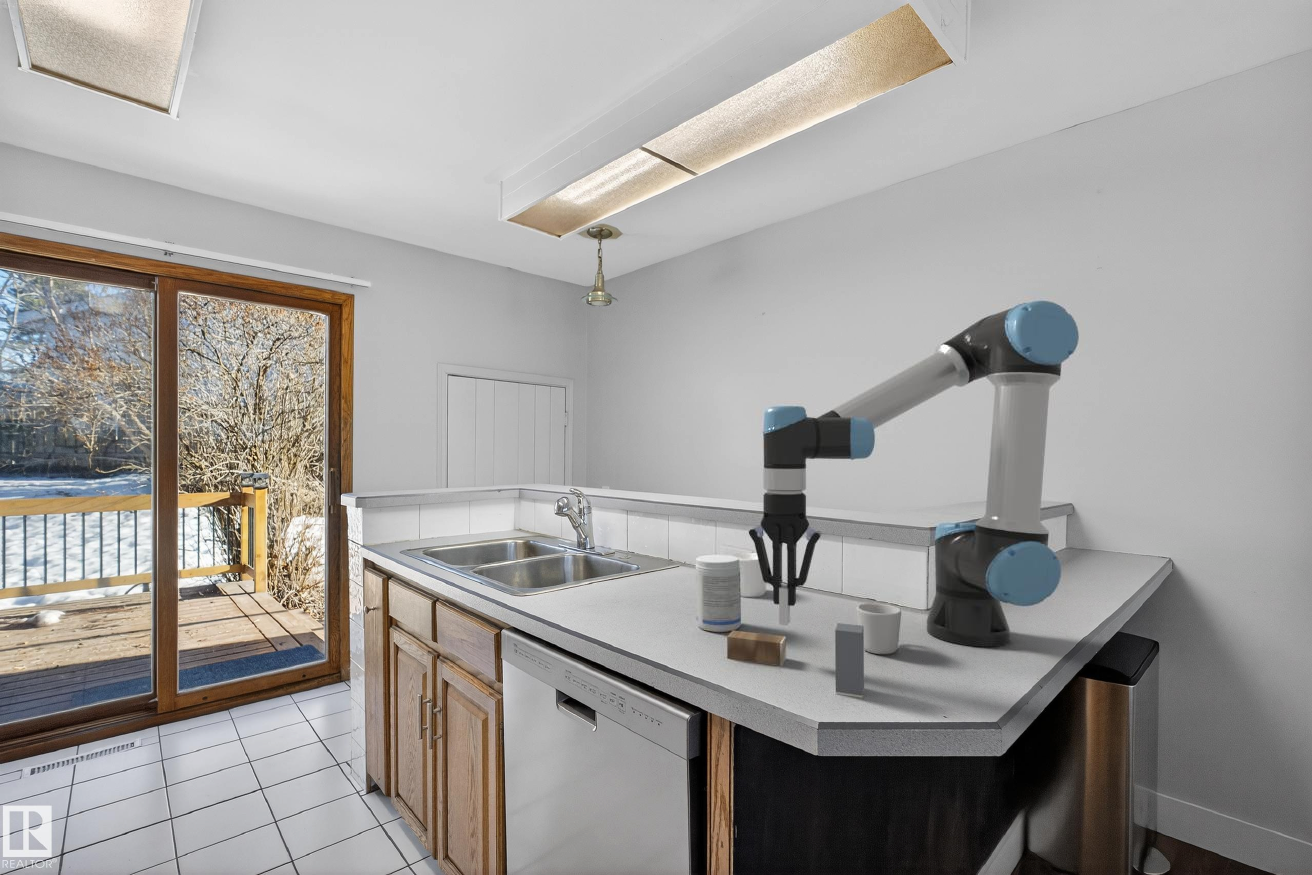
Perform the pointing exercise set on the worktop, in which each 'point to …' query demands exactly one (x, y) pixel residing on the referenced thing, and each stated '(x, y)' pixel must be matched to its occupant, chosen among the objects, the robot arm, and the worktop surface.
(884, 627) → the cup
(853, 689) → the charcoal block
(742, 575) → the cup
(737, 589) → the supplement tub
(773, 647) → the walnut block
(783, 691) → the worktop surface
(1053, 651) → the worktop surface
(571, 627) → the worktop surface
